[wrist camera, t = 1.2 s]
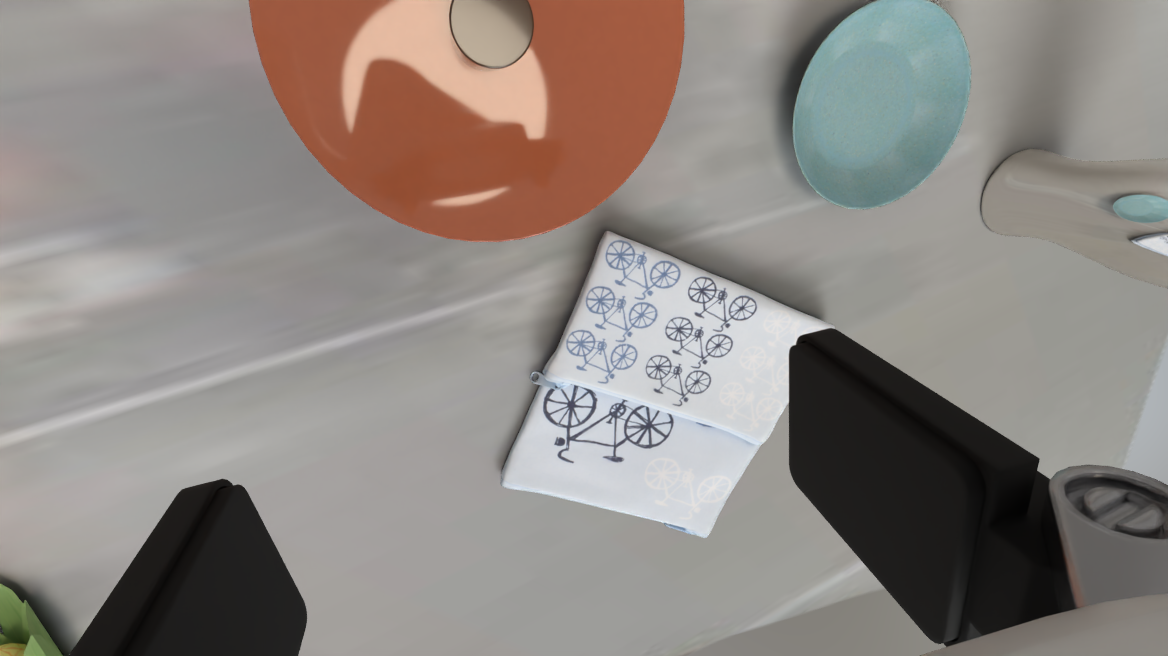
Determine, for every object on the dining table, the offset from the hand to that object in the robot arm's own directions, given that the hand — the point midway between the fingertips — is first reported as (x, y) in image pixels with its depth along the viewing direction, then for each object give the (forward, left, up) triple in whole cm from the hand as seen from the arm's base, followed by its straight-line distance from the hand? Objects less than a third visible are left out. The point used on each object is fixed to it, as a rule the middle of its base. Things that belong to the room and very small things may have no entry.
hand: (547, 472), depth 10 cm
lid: (-4, +7, -17) cm, 19 cm away
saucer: (+18, +16, -26) cm, 36 cm away
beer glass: (+33, +18, -26) cm, 46 cm away
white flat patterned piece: (+17, -7, -26) cm, 32 cm away
